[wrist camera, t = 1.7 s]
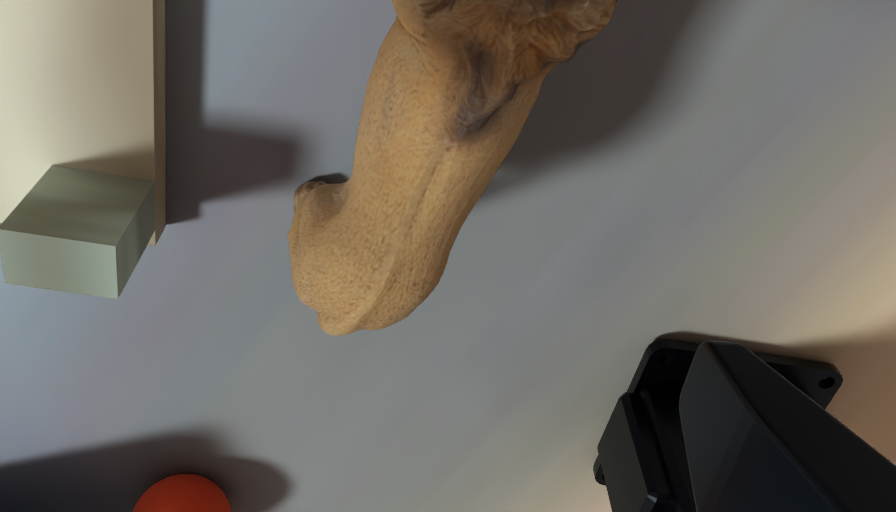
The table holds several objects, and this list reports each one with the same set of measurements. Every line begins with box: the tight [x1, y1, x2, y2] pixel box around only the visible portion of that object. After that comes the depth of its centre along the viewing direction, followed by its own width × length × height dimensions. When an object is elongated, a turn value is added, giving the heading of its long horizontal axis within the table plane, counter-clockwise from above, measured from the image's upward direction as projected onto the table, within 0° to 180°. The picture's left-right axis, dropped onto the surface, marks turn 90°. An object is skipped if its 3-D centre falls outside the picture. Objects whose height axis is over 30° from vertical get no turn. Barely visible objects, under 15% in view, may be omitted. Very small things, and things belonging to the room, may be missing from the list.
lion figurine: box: [288, 0, 617, 336], centre depth 15 cm, size 15×5×9 cm, turn 167°
